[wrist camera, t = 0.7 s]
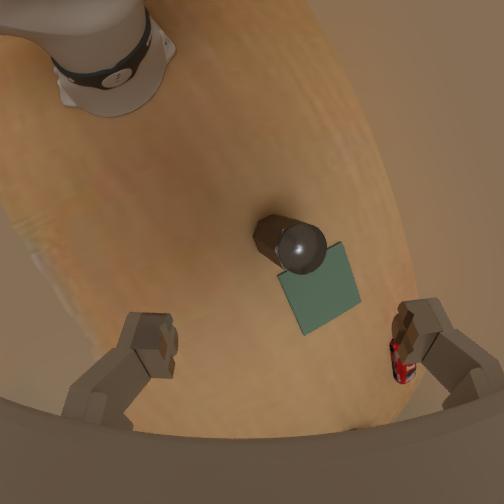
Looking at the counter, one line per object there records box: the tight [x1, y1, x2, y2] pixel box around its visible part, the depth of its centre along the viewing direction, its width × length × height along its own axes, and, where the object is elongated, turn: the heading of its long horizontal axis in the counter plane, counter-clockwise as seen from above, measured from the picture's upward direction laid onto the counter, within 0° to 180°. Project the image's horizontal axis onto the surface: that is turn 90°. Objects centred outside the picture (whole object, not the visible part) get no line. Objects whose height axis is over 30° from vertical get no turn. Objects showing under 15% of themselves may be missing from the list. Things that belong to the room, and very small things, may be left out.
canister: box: [253, 214, 327, 275], centre depth 42 cm, size 6×6×12 cm
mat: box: [277, 242, 361, 336], centre depth 51 cm, size 12×12×1 cm
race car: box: [390, 339, 416, 384], centre depth 58 cm, size 13×5×4 cm, turn 19°
